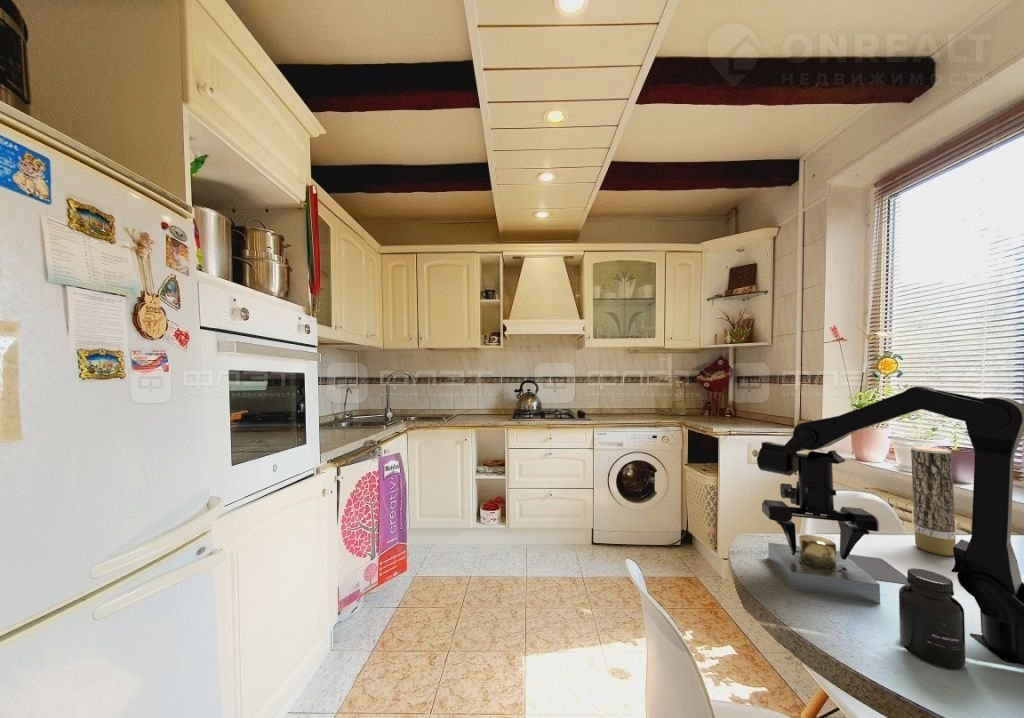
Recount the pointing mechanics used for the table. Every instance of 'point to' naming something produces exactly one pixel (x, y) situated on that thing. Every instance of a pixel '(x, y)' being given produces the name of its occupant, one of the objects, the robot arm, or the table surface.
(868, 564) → the rubber mat
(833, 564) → the end cover
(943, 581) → the supplement bottle
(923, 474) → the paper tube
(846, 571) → the housing
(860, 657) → the table surface
